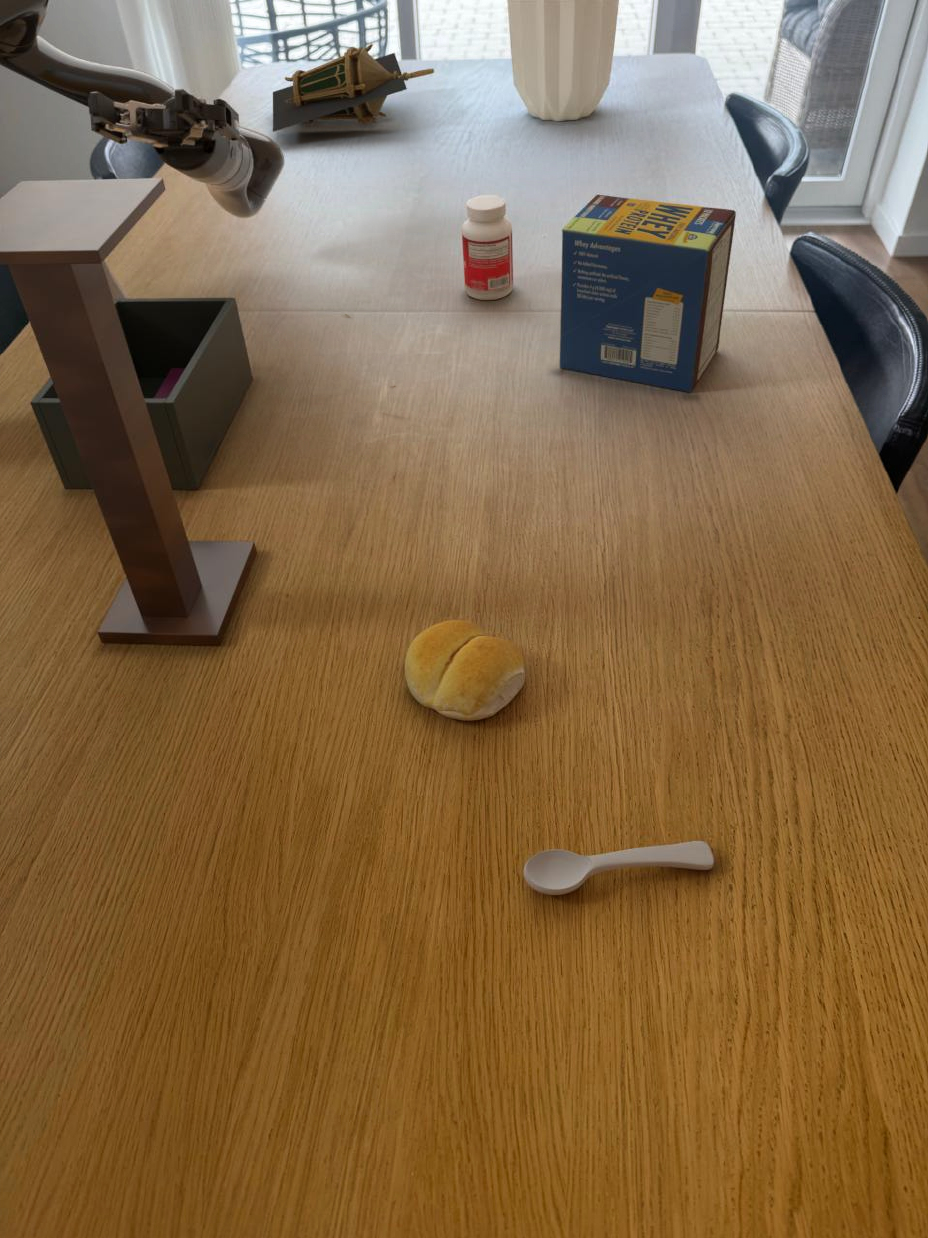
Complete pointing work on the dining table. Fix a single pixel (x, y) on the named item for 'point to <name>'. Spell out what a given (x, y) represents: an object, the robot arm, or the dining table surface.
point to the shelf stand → (114, 408)
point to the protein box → (644, 290)
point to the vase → (562, 54)
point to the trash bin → (197, 403)
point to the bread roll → (463, 670)
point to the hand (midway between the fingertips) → (136, 101)
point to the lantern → (341, 89)
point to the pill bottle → (487, 249)
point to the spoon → (608, 864)
